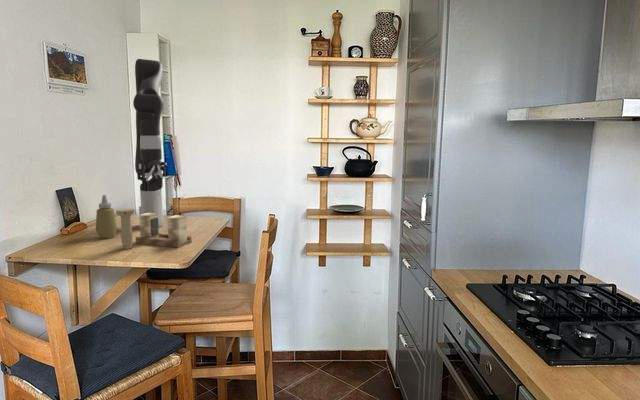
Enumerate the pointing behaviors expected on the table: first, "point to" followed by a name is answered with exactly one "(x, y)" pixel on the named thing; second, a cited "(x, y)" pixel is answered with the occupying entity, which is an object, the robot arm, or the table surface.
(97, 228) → the squeeze bottle
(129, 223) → the beige tall post
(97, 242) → the table surface
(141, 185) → the robot arm
